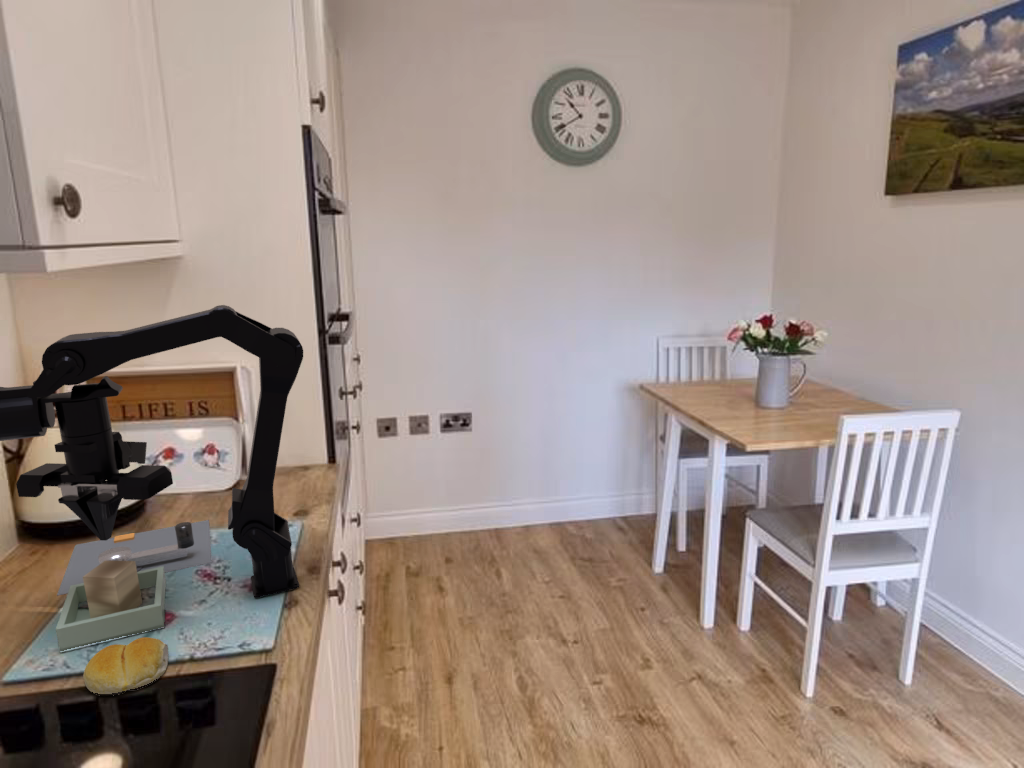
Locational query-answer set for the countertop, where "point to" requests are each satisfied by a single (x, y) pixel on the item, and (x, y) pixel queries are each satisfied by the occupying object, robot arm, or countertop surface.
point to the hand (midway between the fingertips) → (106, 539)
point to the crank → (154, 555)
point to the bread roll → (126, 666)
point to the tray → (110, 615)
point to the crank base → (88, 553)
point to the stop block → (112, 588)
